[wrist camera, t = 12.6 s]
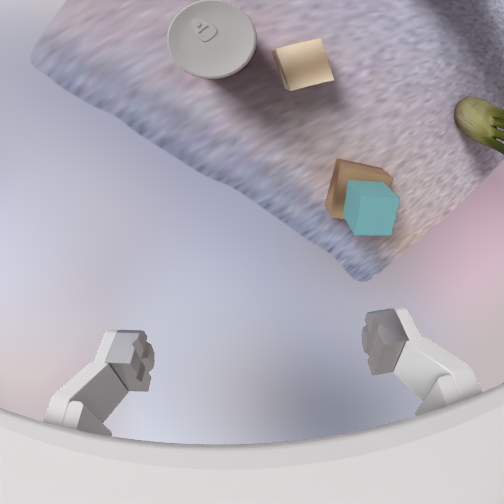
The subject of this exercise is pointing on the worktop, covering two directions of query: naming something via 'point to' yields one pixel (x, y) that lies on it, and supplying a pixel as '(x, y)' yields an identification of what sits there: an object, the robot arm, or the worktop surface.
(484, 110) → the fennel bulb
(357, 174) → the walnut slab
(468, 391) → the robot arm
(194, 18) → the canned food
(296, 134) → the worktop surface
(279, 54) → the birch cube
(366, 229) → the teal cube
